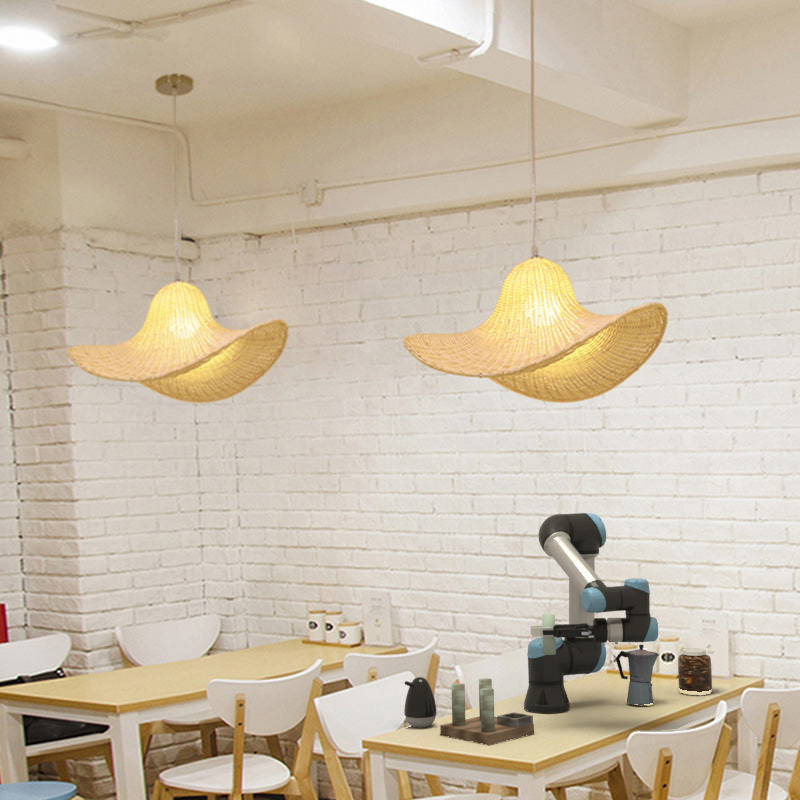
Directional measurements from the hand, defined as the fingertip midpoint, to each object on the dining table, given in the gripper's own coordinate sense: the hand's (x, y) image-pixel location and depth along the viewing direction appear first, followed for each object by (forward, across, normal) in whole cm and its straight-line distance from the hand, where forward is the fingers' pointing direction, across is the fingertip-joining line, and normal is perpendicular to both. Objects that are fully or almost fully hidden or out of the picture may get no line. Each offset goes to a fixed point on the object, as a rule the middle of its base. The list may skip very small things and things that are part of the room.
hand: (531, 631), depth 365 cm
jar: (-61, +54, -30) cm, 87 cm away
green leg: (-5, 0, -7) cm, 9 cm away
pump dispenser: (+35, +4, -30) cm, 46 cm away
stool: (+15, -9, -30) cm, 34 cm away
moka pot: (-38, +34, -30) cm, 59 cm away
